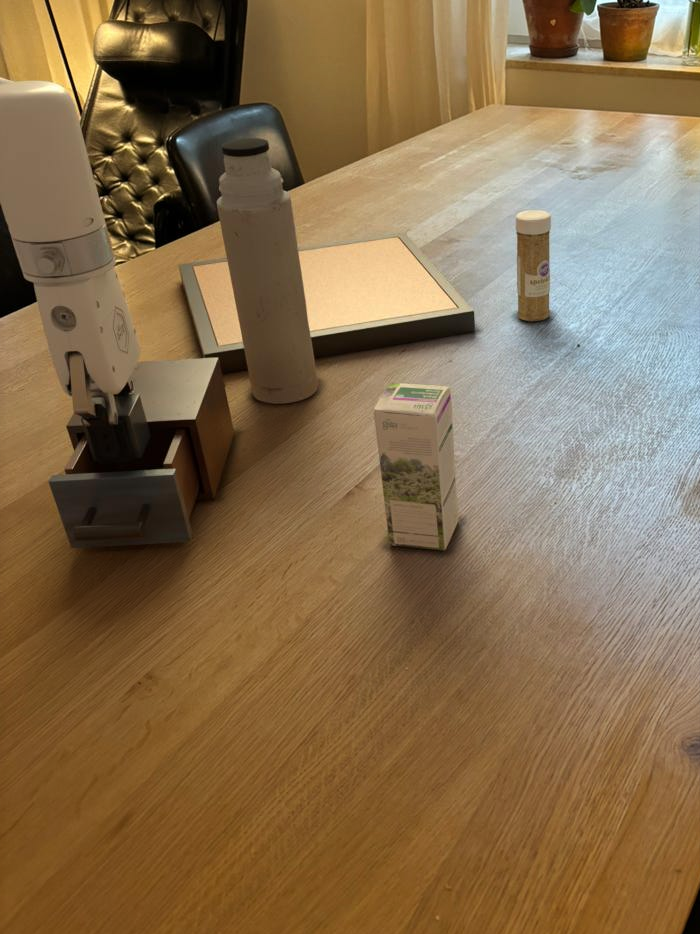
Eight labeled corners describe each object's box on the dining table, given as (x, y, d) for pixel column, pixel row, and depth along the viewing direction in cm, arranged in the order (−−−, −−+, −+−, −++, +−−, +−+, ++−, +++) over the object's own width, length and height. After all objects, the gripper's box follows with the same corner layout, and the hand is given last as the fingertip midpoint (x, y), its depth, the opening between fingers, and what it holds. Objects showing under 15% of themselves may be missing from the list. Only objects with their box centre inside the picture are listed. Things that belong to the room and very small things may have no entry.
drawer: (181, 570, 94) (163, 501, 90) (57, 577, 94) (32, 508, 90) (213, 471, 108) (198, 407, 104) (105, 477, 108) (86, 413, 104)
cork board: (406, 250, 163) (182, 283, 156) (405, 232, 162) (178, 264, 154) (475, 331, 137) (208, 376, 129) (474, 310, 135) (203, 354, 127)
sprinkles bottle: (539, 324, 138) (539, 221, 130) (510, 318, 140) (508, 216, 132) (556, 313, 141) (557, 211, 132) (527, 307, 143) (527, 207, 134)
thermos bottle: (239, 397, 124) (189, 148, 106) (277, 371, 130) (236, 130, 112) (294, 408, 121) (252, 154, 104) (330, 381, 127) (296, 135, 109)
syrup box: (460, 520, 101) (452, 382, 92) (445, 553, 96) (435, 412, 87) (404, 515, 102) (391, 378, 93) (387, 548, 97) (371, 407, 88)
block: (93, 461, 95) (80, 418, 92) (105, 439, 99) (92, 396, 96) (141, 458, 95) (129, 415, 92) (151, 436, 99) (139, 394, 96)
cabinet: (214, 499, 106) (195, 419, 100) (91, 506, 106) (65, 426, 100) (234, 432, 117) (218, 357, 111) (123, 439, 117) (102, 363, 111)
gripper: (84, 284, 79) (143, 491, 90) (132, 217, 92) (178, 405, 103) (-14, 290, 79) (57, 496, 90) (49, 222, 92) (104, 409, 103)
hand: (121, 445), depth 97 cm, fingers closed on block, 4 cm apart
